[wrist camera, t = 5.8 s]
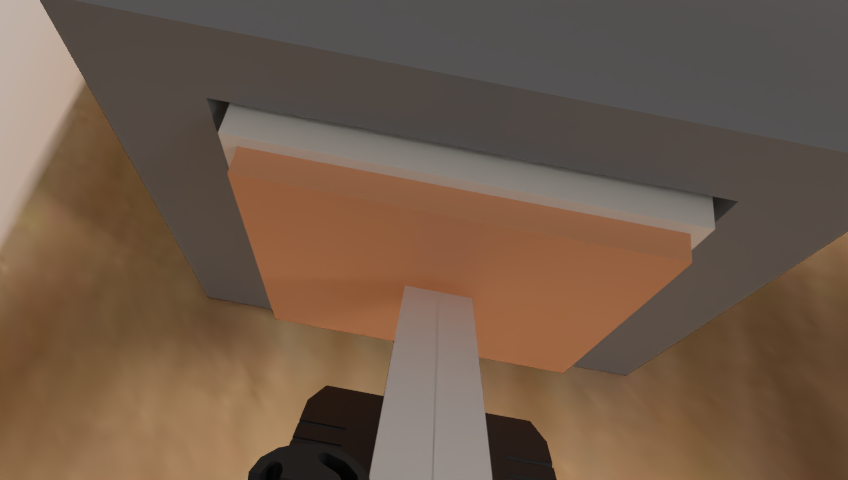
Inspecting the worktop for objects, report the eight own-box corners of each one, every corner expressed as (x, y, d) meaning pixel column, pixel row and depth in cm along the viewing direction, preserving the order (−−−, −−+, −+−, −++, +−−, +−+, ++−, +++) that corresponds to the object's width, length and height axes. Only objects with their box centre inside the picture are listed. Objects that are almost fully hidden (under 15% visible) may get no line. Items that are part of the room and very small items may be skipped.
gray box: (295, 54, 25) (251, -319, 14) (624, 119, 25) (824, -199, 14) (207, 296, 19) (35, -8, 9) (625, 375, 20) (940, 171, 9)
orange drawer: (330, 109, 21) (318, -114, 14) (579, 158, 21) (692, -39, 14) (266, 320, 17) (206, 160, 10) (570, 377, 17) (717, 258, 10)
